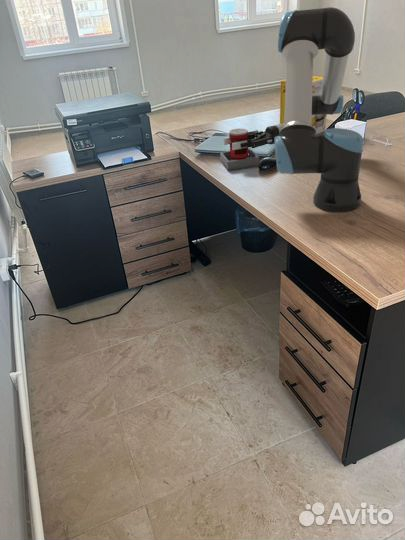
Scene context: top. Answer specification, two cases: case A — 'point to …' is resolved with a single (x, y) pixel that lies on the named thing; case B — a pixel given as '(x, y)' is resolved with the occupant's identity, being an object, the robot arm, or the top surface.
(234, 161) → the charcoal bin
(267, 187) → the top surface
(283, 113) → the packaging box
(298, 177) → the top surface
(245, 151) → the canned food
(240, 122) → the top surface
